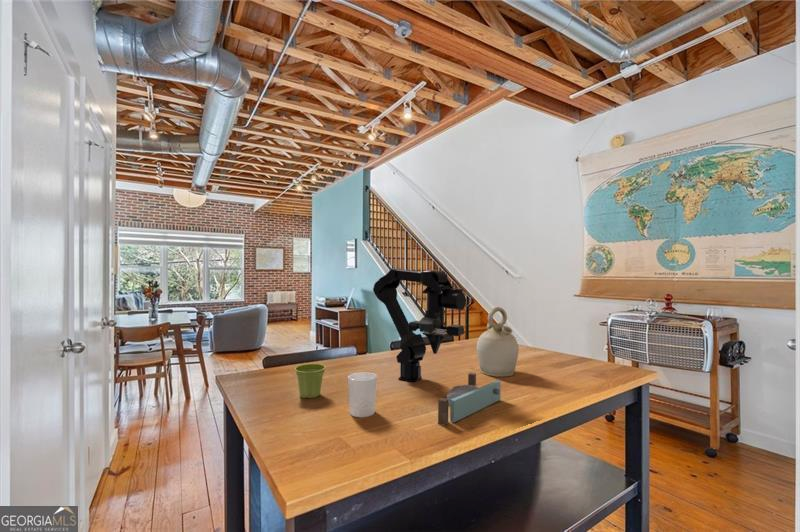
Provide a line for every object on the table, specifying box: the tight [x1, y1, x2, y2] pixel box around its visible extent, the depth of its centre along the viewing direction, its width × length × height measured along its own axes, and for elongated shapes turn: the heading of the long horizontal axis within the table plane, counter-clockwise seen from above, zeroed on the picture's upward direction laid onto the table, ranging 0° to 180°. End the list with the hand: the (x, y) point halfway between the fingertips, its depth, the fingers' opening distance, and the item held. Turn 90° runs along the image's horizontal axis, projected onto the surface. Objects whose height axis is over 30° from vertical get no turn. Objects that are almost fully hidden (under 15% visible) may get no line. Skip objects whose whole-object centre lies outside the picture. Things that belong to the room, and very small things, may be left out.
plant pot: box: [294, 363, 327, 399], centre depth 113 cm, size 9×9×9 cm
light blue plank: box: [437, 372, 477, 426], centre depth 104 cm, size 2×28×6 cm, turn 153°
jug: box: [476, 306, 520, 378], centre depth 139 cm, size 15×16×25 cm
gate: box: [449, 380, 502, 423], centre depth 101 cm, size 2×23×6 cm, turn 135°
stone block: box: [446, 384, 481, 406], centre depth 109 cm, size 12×5×10 cm
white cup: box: [347, 371, 378, 418], centre depth 99 cm, size 8×8×10 cm
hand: (435, 353), depth 123 cm, fingers closed
